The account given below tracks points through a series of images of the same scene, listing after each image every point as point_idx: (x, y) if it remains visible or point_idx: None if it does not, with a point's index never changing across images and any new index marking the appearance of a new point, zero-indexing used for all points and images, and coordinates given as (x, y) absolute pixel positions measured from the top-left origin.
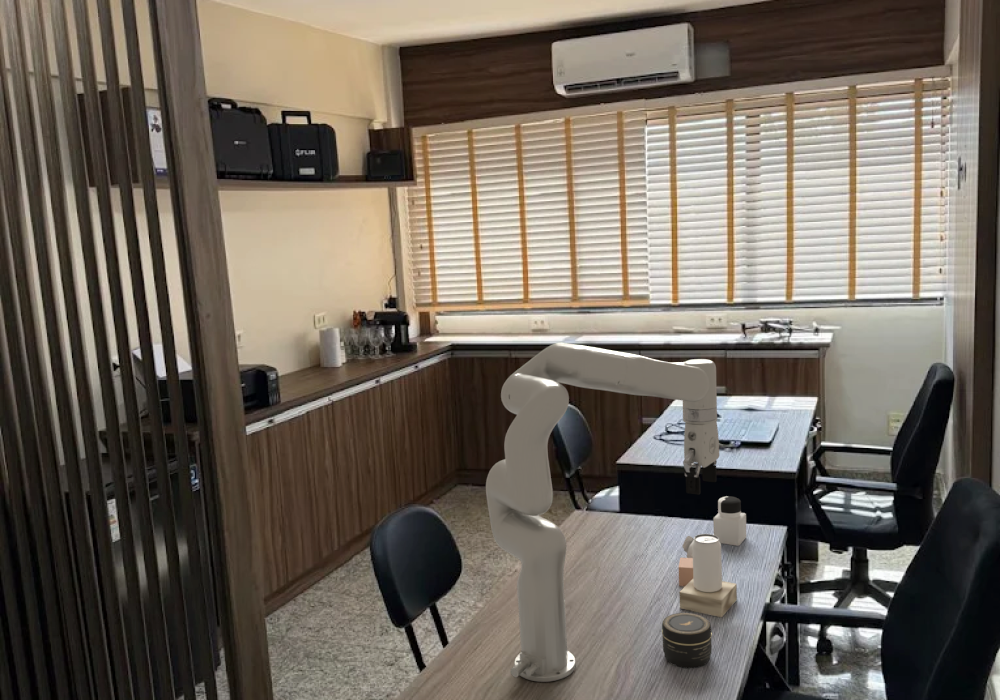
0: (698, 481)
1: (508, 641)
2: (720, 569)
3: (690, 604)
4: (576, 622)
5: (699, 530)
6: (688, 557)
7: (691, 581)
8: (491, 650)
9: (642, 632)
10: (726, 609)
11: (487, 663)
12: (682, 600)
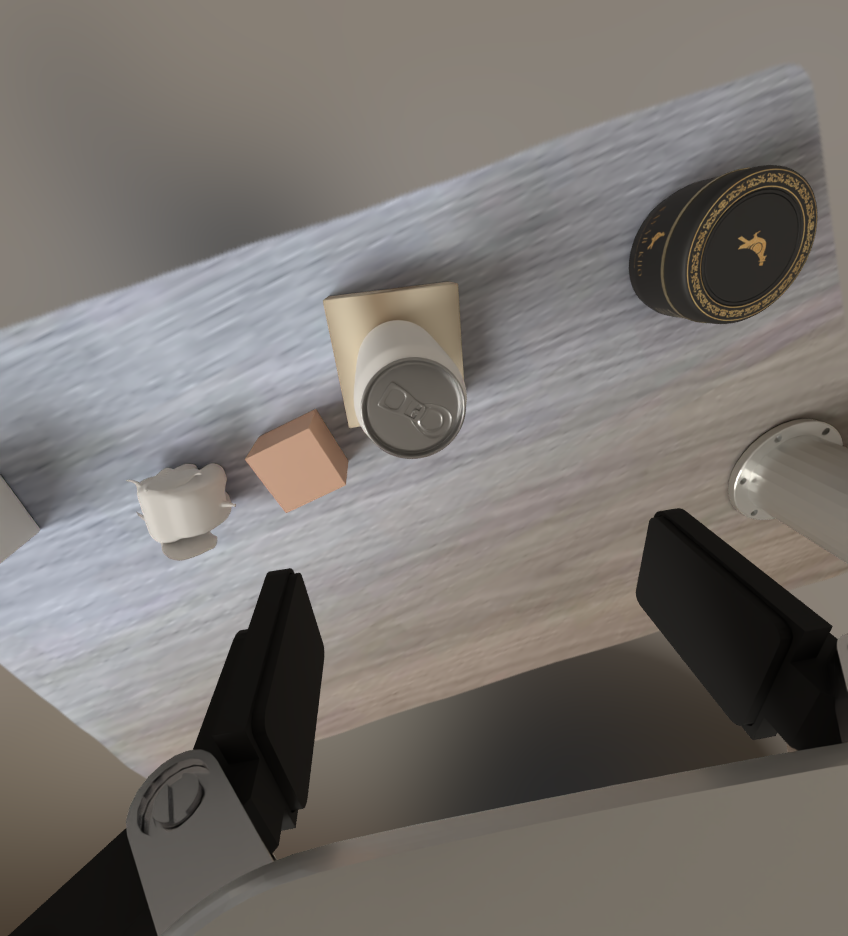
0: (781, 593)
1: None
2: (400, 328)
3: None
4: (610, 523)
5: (9, 593)
6: (228, 512)
7: None
8: None
9: (601, 402)
10: (412, 286)
11: (785, 540)
12: None
